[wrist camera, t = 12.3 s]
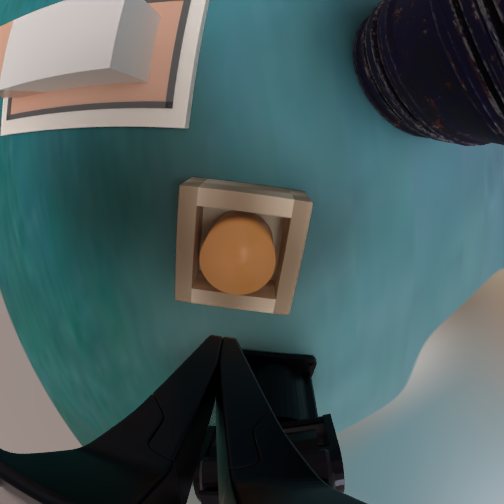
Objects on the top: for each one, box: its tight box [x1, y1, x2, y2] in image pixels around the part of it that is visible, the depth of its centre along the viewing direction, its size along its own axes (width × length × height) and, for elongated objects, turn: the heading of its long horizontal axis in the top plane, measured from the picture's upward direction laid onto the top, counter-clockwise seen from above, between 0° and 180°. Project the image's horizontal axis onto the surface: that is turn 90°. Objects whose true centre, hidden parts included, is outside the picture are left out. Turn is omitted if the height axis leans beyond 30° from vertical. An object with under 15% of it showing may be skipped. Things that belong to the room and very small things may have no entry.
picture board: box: [1, 0, 210, 136], centre depth 14 cm, size 16×10×1 cm, turn 83°
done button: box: [200, 210, 276, 295], centre depth 17 cm, size 4×4×3 cm
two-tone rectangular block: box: [0, 0, 161, 98], centre depth 11 cm, size 11×4×5 cm, turn 82°
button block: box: [175, 177, 313, 315], centre depth 18 cm, size 7×7×3 cm
